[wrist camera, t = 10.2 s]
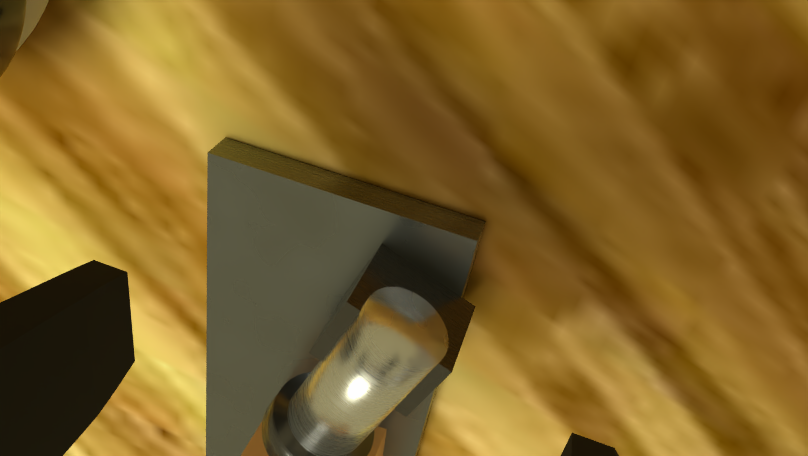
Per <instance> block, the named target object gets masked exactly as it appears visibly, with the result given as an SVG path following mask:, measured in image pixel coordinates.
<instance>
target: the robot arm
mask: <svg viewBox="0 0 808 456" xmlns="http://www.w3.org/2000/svg"><path fill="white" fill-rule="evenodd" d="M134 361H135V357H134V345H133V334H132V322H131V310H130V298H129V287H128V275H127V272H126V271H123V270H120V269H117V268H114V267H112V266H109V265H106V264H103V263H101V262H98V261H95V260H93V261H90V262H88V263H86V264H83V265H81V266H79V267H77V268H74V269H72V270H70V271H68V272H65V273H63V274H61V275H59V276H57V277H55V278H52V279H50V280H48V281H46V282H44V283H42V284H40V285H37V286H35V287H33V288H31V289H29V290H27V291H25V292H22V293H20V294H18V295H16V296H14V297H12V298H10V299H7V300H5V301H3V302H1V303H0V456H63V455H64V454H65V452H66V451H67V450H68V449H69V448H70V447H71V446H72V444H73V443H74V442H75V441H76V440H77V439H78V438H79V436H80V435H81V434H82V433H83V432H84V431H85V430H86V428H87V427H88V426H89V425H90V424H91V423H92V421H93V420H94V419H95V418H96V417H97V416H98V414H99V413H100V412H101V410H102V409H103V407H104V406H105V404H106V403H107V402H108V400H109V399H110V397H111V396H112V395H113V393H114V392H115V390H116V389H117V387H118V386H119V384H120V383H121V381H122V380H123V378H124V377H125V375H126V374H127V372H128V371H129V369H130V368H131V366H132V365H133V363H134ZM561 456H619V455H618V454H617V452H616V450H615V448H613V447H610V446H607V445H605V444H602V443H599V442H596V441H594V440H591V439H588V438H585V437H583V436H580V435H577V434H574V433H572V434H571V436H570V438H569V440H568V442H567V444H566V446H565V448H564V450H563V452H562V454H561Z"/></svg>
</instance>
